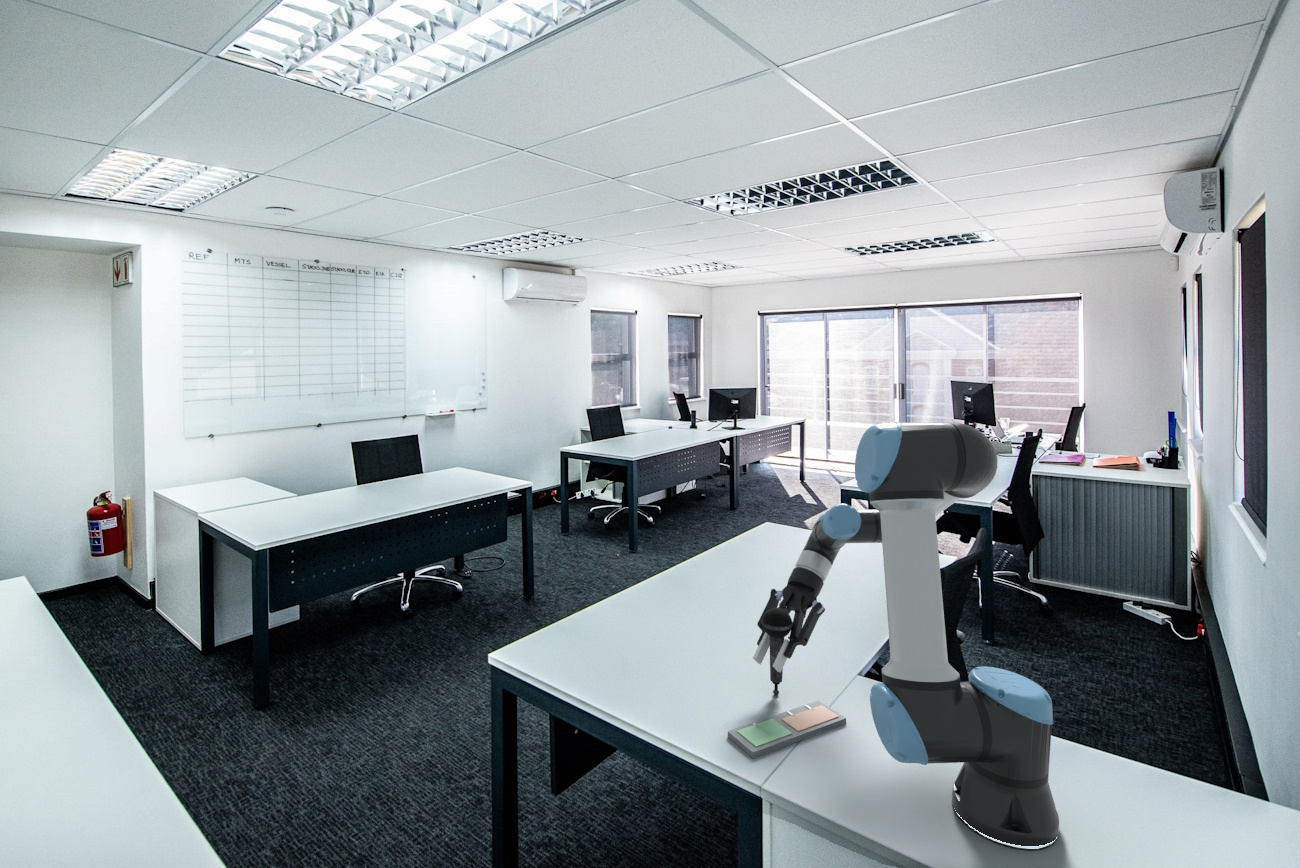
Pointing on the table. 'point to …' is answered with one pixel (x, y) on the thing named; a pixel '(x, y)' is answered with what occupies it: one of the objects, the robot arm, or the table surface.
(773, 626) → the microphone
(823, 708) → the board
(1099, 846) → the table surface
